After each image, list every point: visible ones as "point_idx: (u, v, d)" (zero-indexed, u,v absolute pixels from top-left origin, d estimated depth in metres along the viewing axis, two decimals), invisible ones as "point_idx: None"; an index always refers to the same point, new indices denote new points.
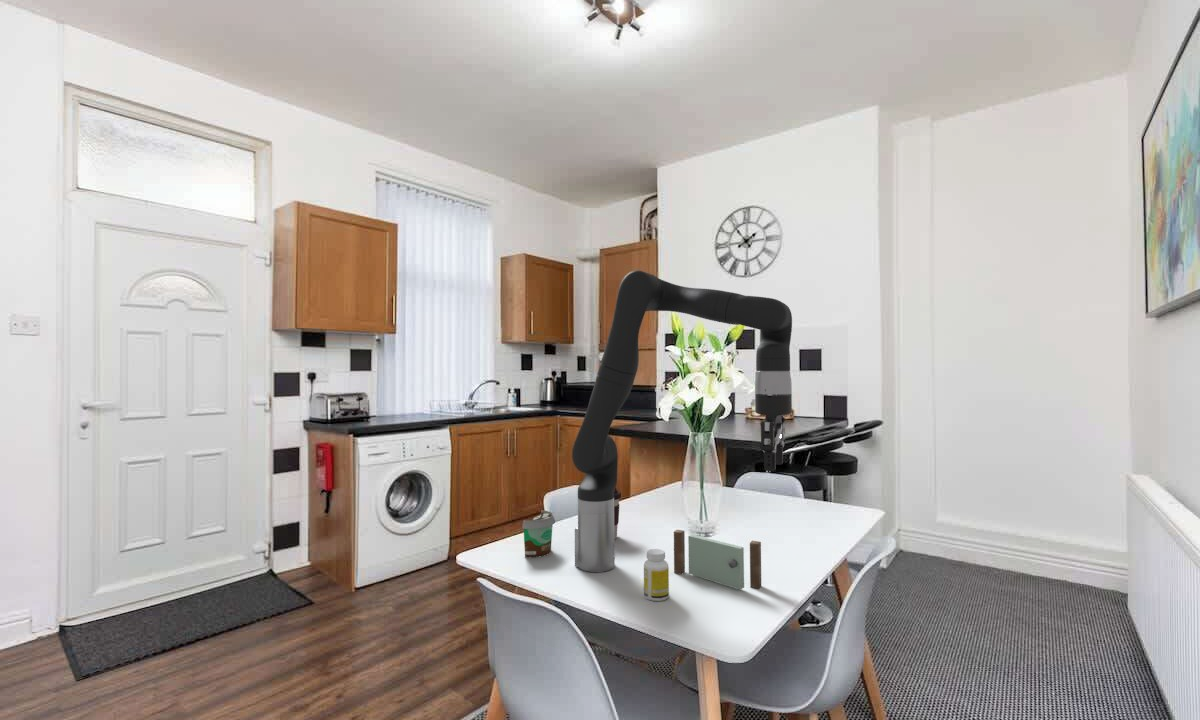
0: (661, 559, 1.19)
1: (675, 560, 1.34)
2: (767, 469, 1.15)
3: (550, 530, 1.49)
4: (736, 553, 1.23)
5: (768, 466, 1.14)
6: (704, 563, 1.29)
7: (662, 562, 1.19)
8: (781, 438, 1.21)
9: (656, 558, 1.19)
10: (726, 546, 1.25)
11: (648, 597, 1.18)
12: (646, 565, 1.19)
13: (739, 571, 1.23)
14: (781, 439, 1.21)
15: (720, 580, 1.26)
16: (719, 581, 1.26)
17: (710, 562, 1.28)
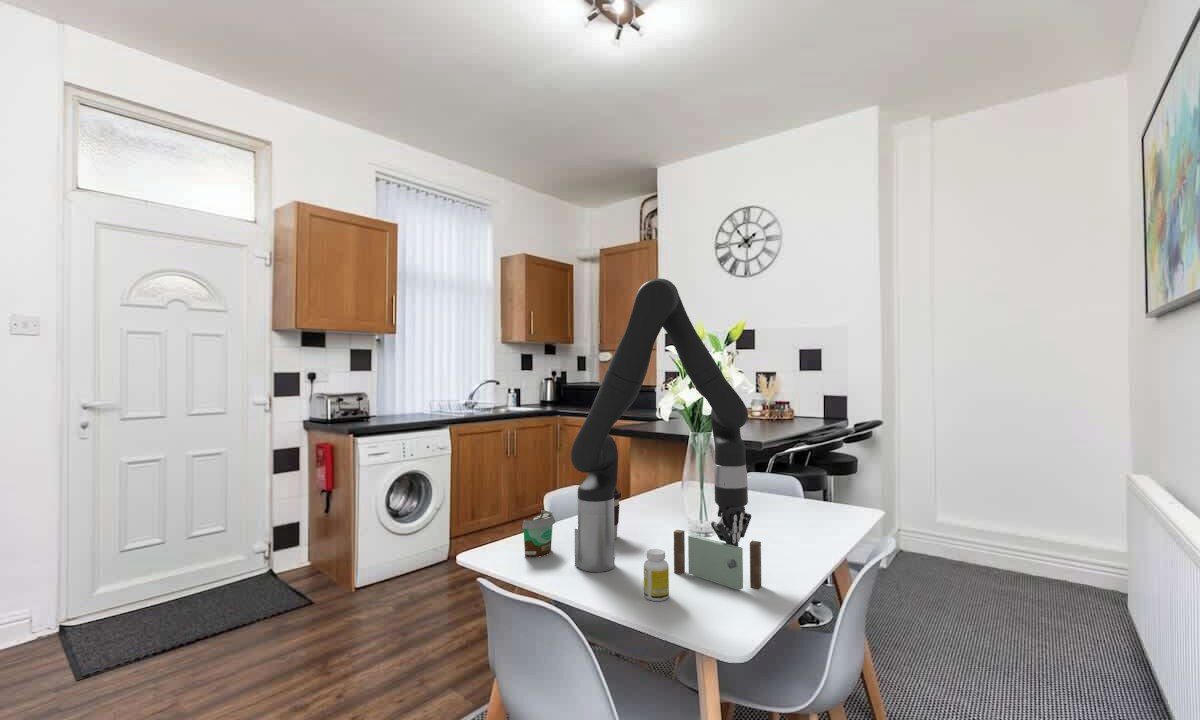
0: (661, 559, 1.19)
1: (675, 560, 1.34)
2: None
3: (550, 530, 1.49)
4: (735, 553, 1.23)
5: None
6: (703, 563, 1.29)
7: (662, 562, 1.19)
8: None
9: (656, 558, 1.19)
10: (725, 546, 1.25)
11: (648, 597, 1.18)
12: (646, 565, 1.19)
13: (738, 572, 1.23)
14: None
15: (719, 580, 1.26)
16: (718, 581, 1.26)
17: (709, 563, 1.28)
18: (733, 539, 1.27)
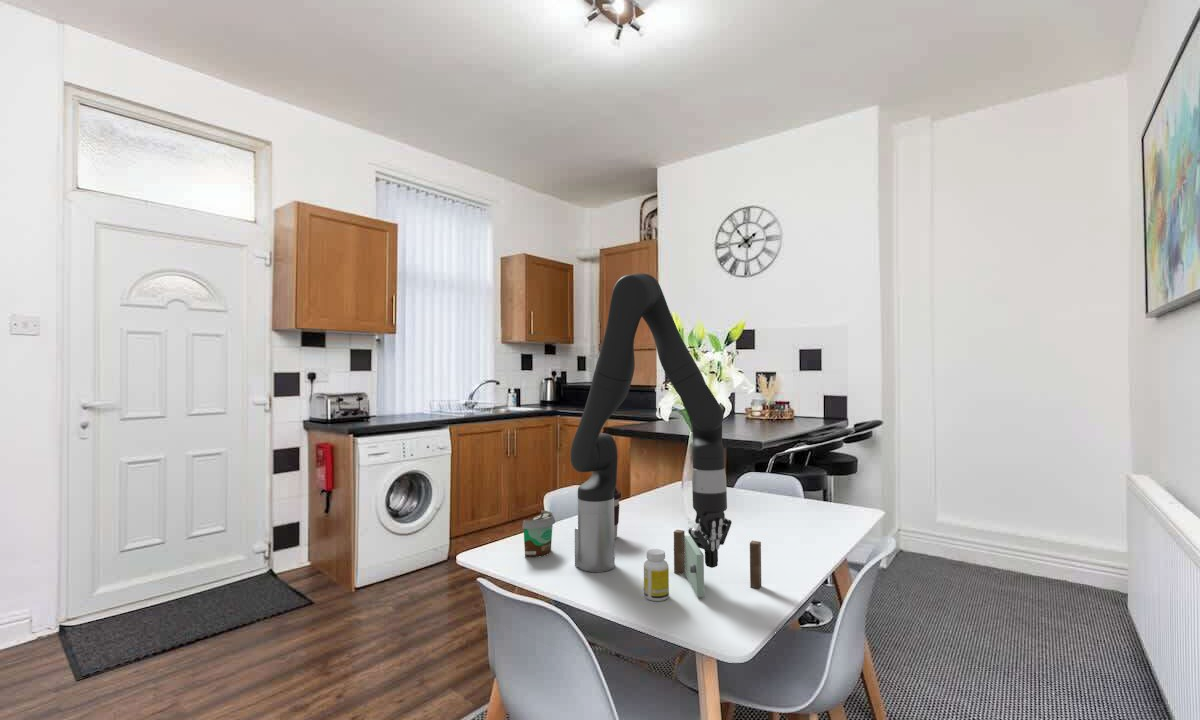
0: (661, 559, 1.19)
1: (675, 560, 1.34)
2: None
3: (550, 530, 1.49)
4: (695, 559, 1.20)
5: None
6: (688, 565, 1.28)
7: (662, 562, 1.19)
8: None
9: (656, 558, 1.19)
10: (693, 550, 1.22)
11: (648, 597, 1.18)
12: (646, 565, 1.19)
13: (696, 578, 1.19)
14: None
15: (692, 584, 1.24)
16: (692, 585, 1.24)
17: (689, 565, 1.27)
18: (712, 546, 1.21)
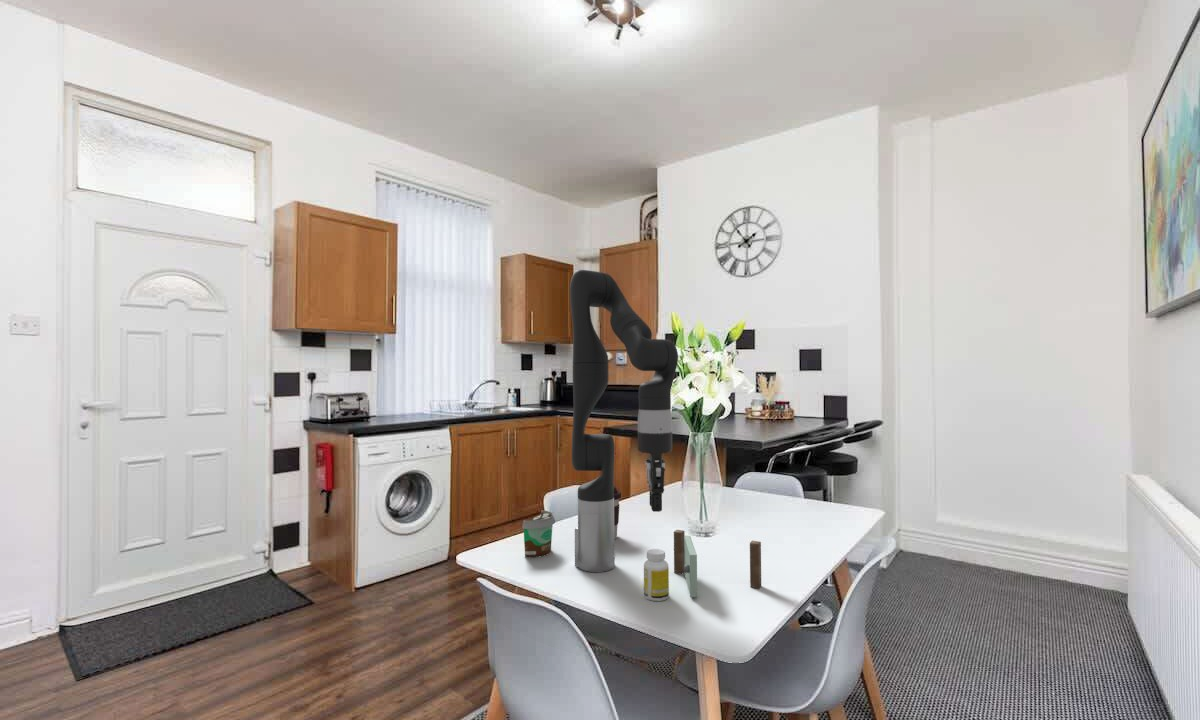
0: (661, 559, 1.19)
1: (675, 560, 1.34)
2: None
3: (550, 530, 1.49)
4: (689, 559, 1.20)
5: None
6: None
7: (662, 562, 1.19)
8: None
9: (656, 558, 1.19)
10: (688, 550, 1.22)
11: (648, 597, 1.18)
12: (646, 565, 1.19)
13: (690, 578, 1.19)
14: None
15: None
16: None
17: (686, 565, 1.27)
18: None
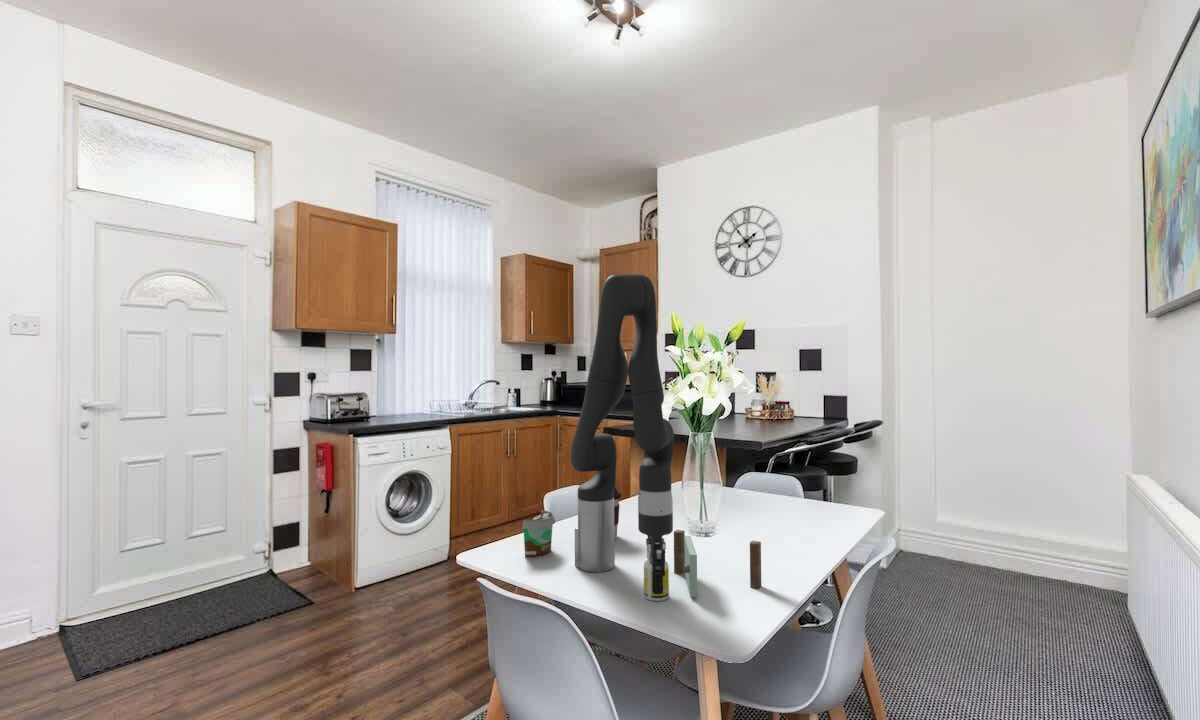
0: None
1: (675, 560, 1.34)
2: None
3: (550, 530, 1.49)
4: (689, 559, 1.20)
5: None
6: None
7: None
8: None
9: None
10: (688, 550, 1.22)
11: (648, 597, 1.18)
12: (646, 565, 1.19)
13: (690, 578, 1.19)
14: None
15: None
16: None
17: (686, 565, 1.27)
18: None
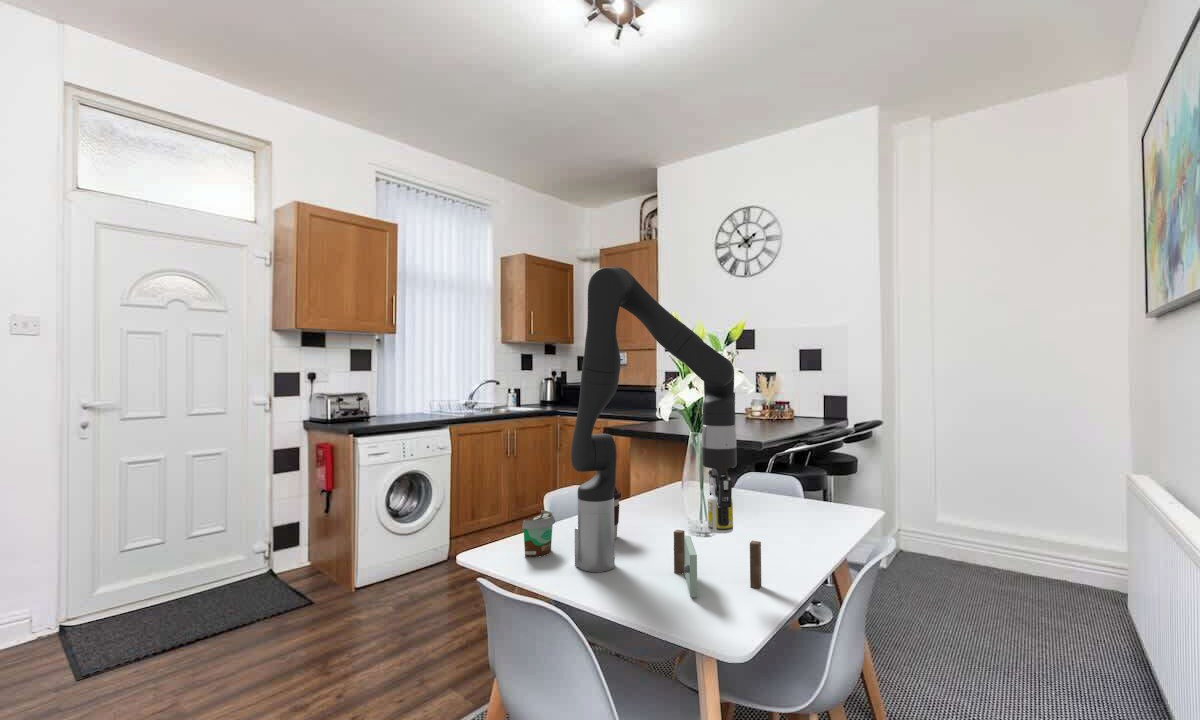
0: None
1: (675, 560, 1.34)
2: None
3: (550, 530, 1.49)
4: (689, 559, 1.20)
5: None
6: None
7: None
8: None
9: None
10: (688, 550, 1.22)
11: (713, 530, 1.21)
12: (710, 499, 1.21)
13: (690, 578, 1.19)
14: None
15: None
16: None
17: (686, 565, 1.27)
18: None
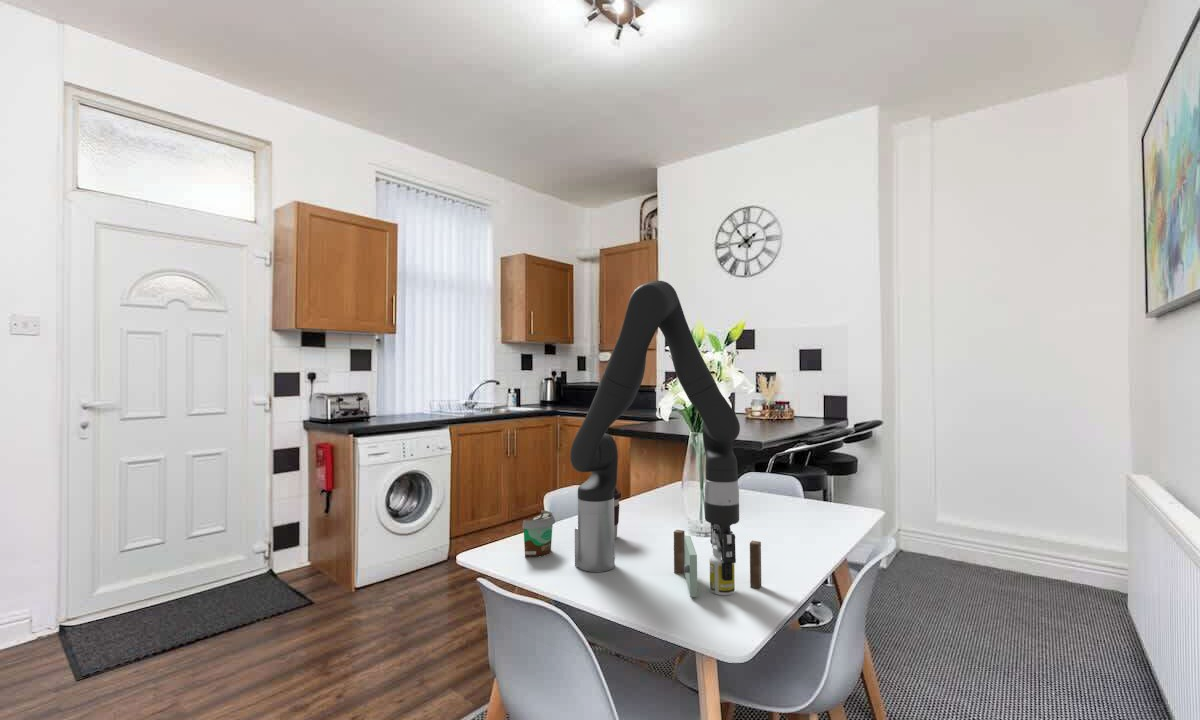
0: (728, 554, 1.22)
1: (675, 560, 1.34)
2: None
3: (550, 530, 1.49)
4: (689, 559, 1.20)
5: None
6: None
7: None
8: None
9: None
10: (688, 550, 1.22)
11: (715, 591, 1.21)
12: (713, 560, 1.22)
13: (690, 578, 1.19)
14: None
15: None
16: None
17: (686, 565, 1.27)
18: None
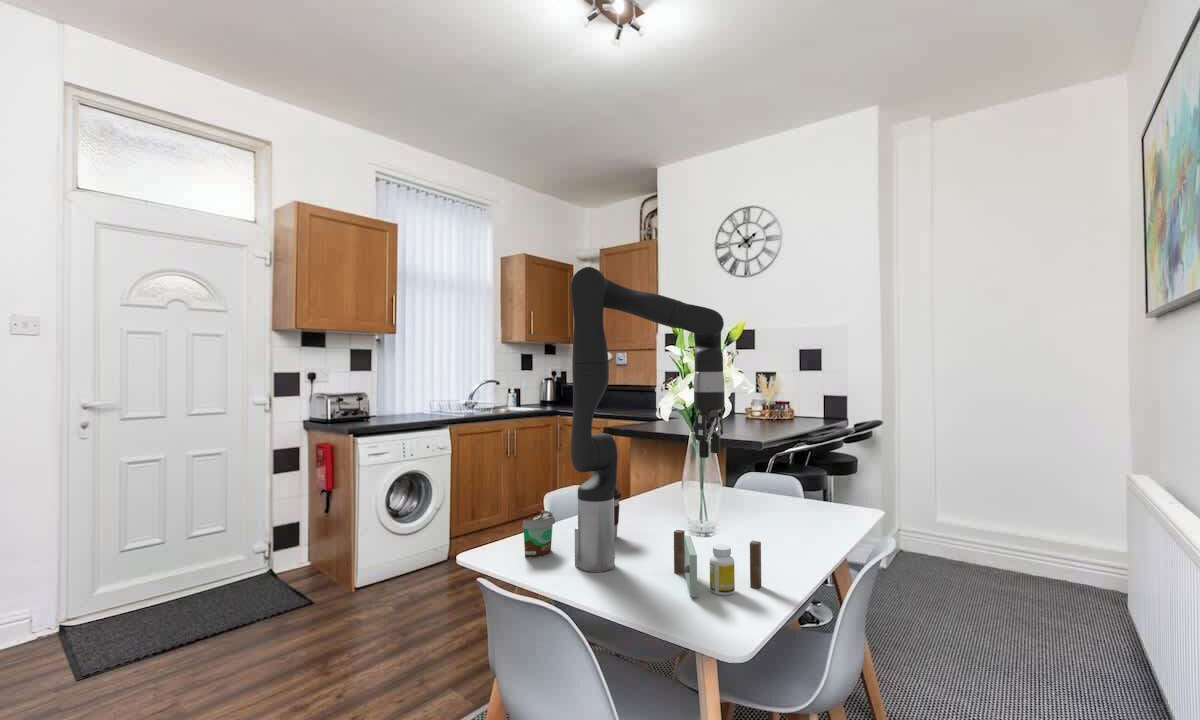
0: (728, 554, 1.22)
1: (675, 560, 1.34)
2: None
3: (550, 530, 1.49)
4: (689, 559, 1.20)
5: None
6: None
7: (728, 557, 1.22)
8: None
9: (722, 553, 1.21)
10: (688, 550, 1.22)
11: (715, 591, 1.21)
12: (713, 560, 1.22)
13: (690, 578, 1.19)
14: None
15: None
16: None
17: (686, 565, 1.27)
18: (708, 437, 1.33)
